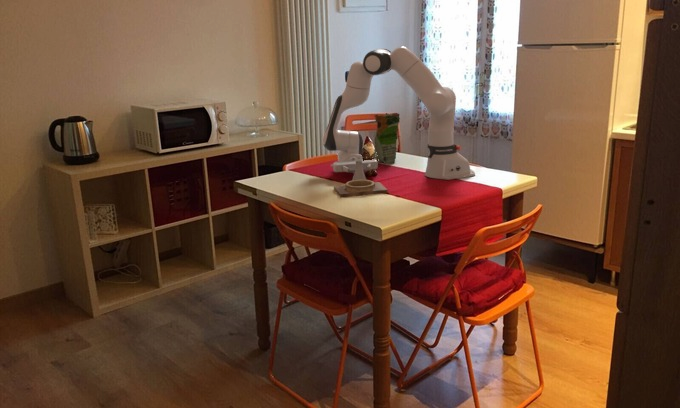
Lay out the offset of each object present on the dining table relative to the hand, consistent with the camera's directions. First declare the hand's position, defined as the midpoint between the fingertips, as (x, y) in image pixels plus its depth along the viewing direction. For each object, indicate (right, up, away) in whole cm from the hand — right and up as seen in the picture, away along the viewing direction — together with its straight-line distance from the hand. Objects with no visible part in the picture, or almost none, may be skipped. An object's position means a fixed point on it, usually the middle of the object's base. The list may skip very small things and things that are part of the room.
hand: (358, 169), depth 257 cm
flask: (0, -6, +1) cm, 6 cm away
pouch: (+16, +6, +38) cm, 42 cm away
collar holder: (0, -10, -13) cm, 16 cm away
